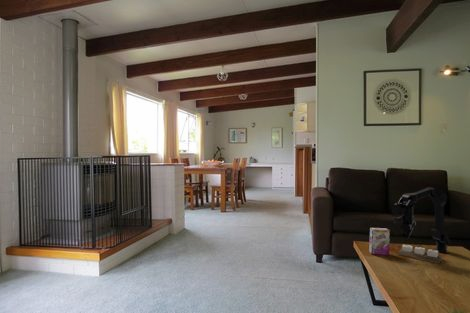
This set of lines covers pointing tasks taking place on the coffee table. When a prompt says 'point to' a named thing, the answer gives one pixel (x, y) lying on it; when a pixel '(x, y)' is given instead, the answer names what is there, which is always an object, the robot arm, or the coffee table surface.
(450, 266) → the coffee table surface
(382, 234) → the candy bar box
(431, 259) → the brown dotted block frame
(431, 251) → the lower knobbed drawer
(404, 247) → the three pip tile
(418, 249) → the two pip tile
